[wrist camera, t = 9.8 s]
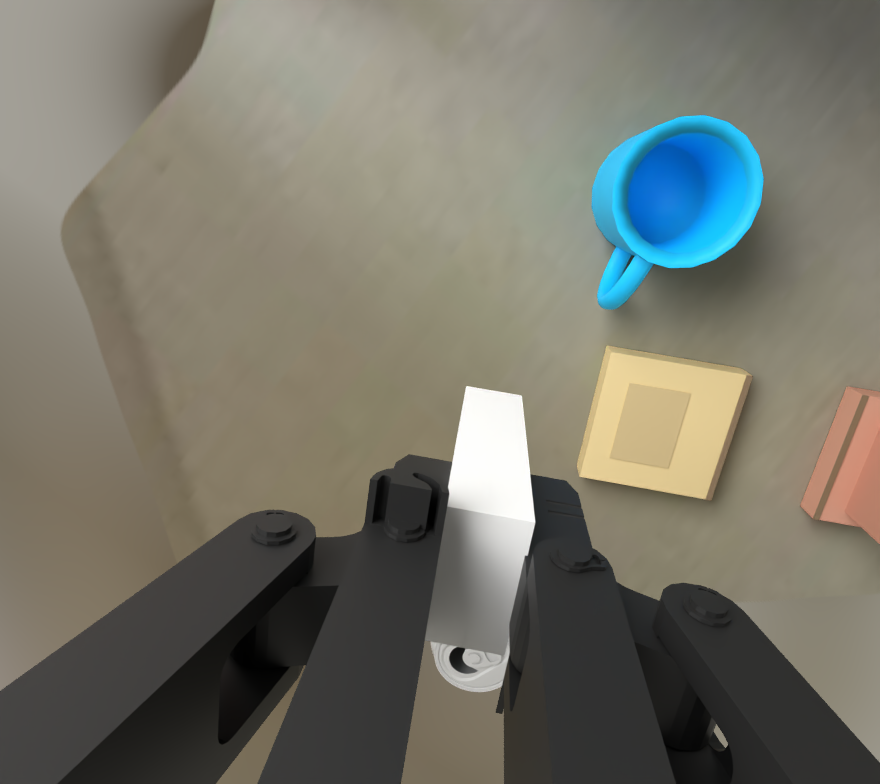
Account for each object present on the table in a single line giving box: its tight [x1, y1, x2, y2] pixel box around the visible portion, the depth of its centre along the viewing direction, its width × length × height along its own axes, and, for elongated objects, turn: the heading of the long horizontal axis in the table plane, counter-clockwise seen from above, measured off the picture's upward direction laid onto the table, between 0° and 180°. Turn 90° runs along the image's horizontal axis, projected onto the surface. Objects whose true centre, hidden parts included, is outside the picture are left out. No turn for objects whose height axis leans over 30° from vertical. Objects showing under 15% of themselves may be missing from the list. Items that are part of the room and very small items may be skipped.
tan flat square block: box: [577, 346, 753, 501], centre depth 45 cm, size 10×10×2 cm
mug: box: [592, 115, 764, 310], centre depth 38 cm, size 12×8×8 cm
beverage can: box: [431, 638, 510, 692], centre depth 46 cm, size 6×6×12 cm
